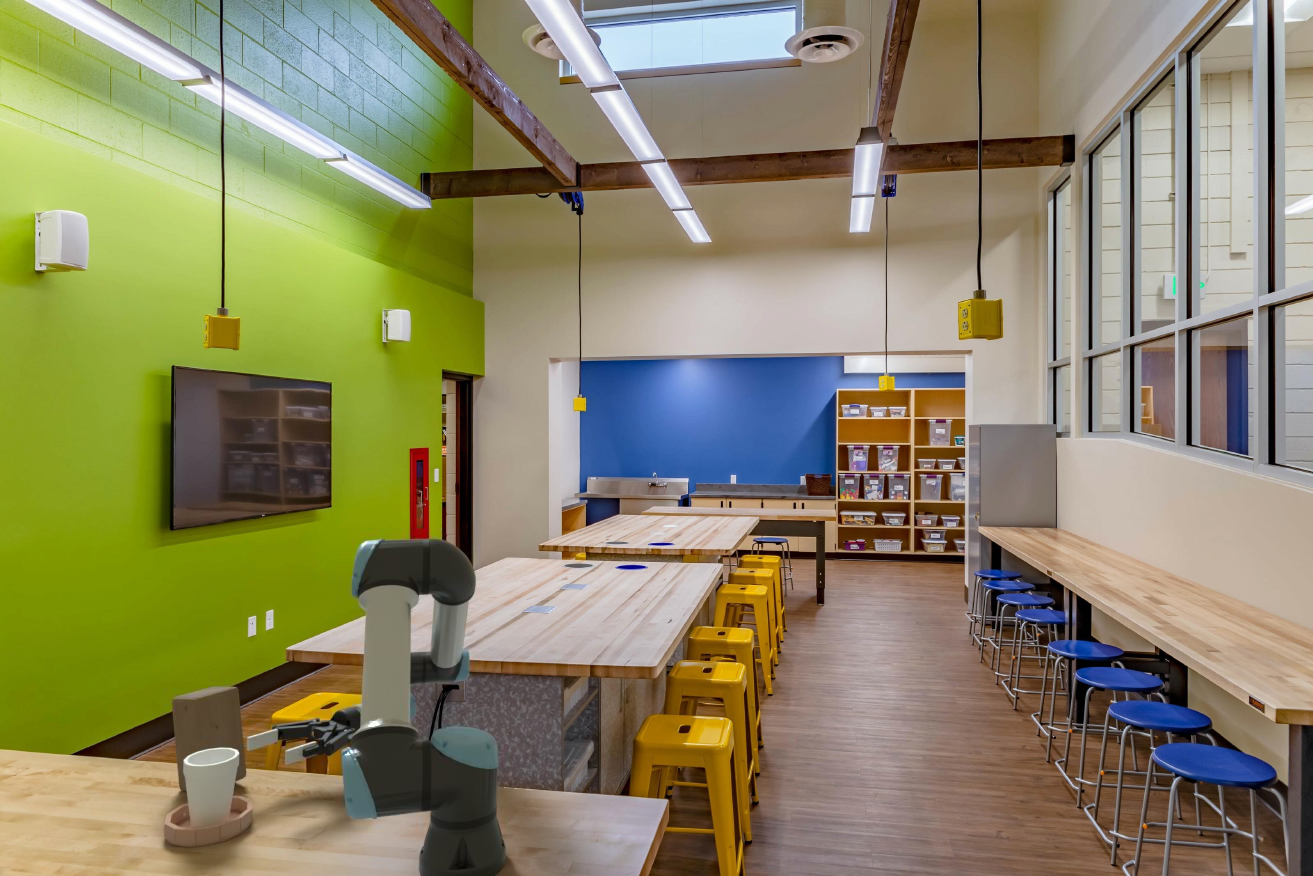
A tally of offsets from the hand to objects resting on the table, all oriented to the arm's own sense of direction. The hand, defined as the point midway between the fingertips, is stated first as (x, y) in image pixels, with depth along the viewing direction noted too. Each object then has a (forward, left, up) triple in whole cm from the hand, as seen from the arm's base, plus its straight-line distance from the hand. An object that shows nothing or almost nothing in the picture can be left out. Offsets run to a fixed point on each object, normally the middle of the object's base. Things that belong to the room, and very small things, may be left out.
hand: (266, 750), depth 163 cm
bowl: (0, +11, -12) cm, 16 cm away
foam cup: (0, +11, -11) cm, 16 cm away
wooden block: (+18, +1, -11) cm, 21 cm away
